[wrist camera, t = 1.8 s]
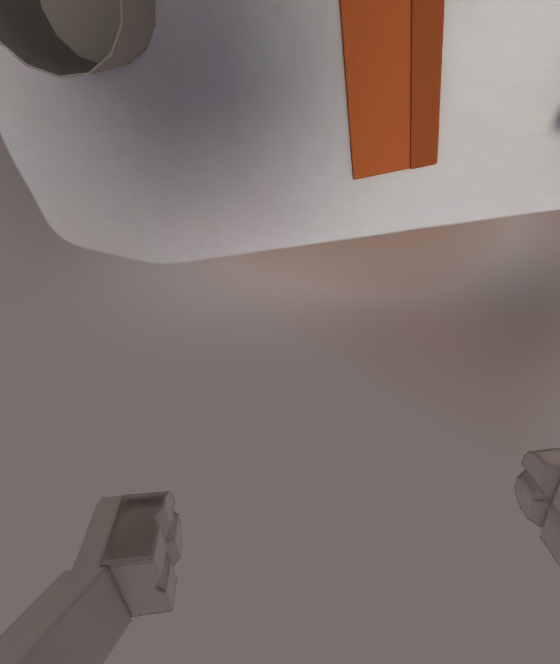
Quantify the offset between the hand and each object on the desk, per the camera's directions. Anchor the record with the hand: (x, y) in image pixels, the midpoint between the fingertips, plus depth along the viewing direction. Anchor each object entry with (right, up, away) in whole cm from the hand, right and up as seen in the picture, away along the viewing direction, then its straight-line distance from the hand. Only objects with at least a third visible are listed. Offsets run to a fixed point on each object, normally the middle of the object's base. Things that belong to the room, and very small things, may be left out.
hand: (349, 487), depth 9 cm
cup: (-15, +29, +21) cm, 39 cm away
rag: (+8, +25, +26) cm, 37 cm away
